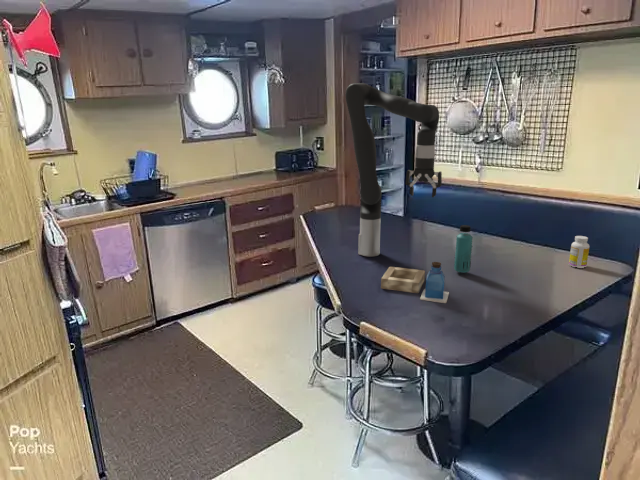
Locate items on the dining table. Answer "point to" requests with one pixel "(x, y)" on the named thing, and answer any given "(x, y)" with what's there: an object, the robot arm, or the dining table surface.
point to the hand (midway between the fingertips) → (422, 196)
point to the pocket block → (403, 279)
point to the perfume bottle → (435, 282)
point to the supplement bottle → (579, 251)
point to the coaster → (444, 300)
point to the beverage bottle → (463, 250)
